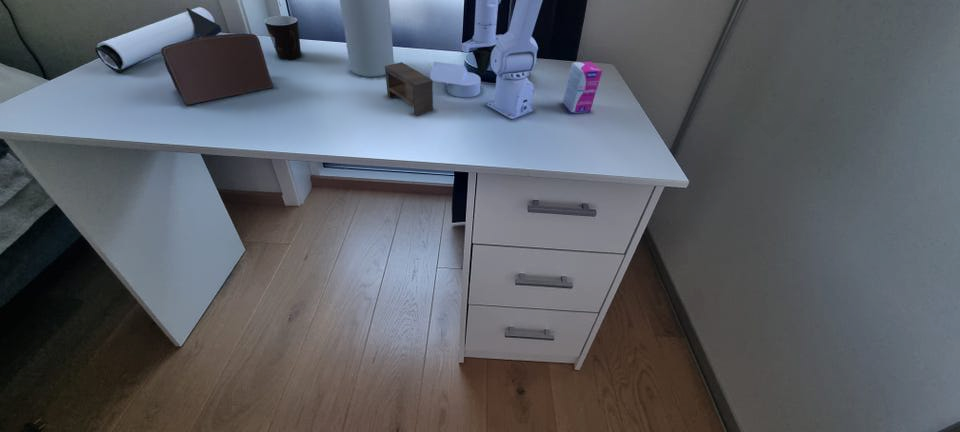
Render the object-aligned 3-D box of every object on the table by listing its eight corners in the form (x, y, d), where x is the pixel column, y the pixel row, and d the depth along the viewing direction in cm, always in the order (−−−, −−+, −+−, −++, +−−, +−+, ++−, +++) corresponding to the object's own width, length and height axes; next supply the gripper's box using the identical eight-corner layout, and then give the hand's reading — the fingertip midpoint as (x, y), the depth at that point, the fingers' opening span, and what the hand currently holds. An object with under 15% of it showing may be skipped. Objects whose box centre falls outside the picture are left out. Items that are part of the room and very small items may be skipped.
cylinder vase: (373, 81, 109) (361, -22, 92) (341, 69, 113) (323, -31, 97) (403, 68, 117) (397, -29, 100) (371, 57, 121) (360, -38, 105)
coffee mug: (275, 51, 120) (265, 16, 113) (305, 50, 122) (297, 15, 116) (272, 66, 112) (261, 29, 105) (304, 64, 114) (296, 28, 107)
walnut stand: (433, 110, 99) (432, 79, 93) (416, 116, 96) (415, 84, 91) (403, 91, 105) (401, 61, 100) (387, 96, 103) (384, 66, 97)
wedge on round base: (429, 92, 106) (476, 99, 105) (428, 67, 102) (477, 74, 100) (438, 79, 113) (482, 85, 112) (438, 55, 108) (484, 62, 107)
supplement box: (571, 114, 102) (581, 71, 95) (561, 104, 106) (571, 61, 99) (590, 113, 104) (603, 70, 96) (580, 102, 108) (591, 60, 100)
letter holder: (274, 88, 102) (257, 30, 93) (186, 106, 92) (157, 44, 82) (261, 74, 107) (244, 19, 98) (176, 90, 97) (148, 30, 88)
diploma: (122, 87, 104) (143, 61, 97) (86, 56, 99) (105, 26, 93) (213, 43, 130) (234, 21, 123) (188, 17, 125) (208, -8, 119)
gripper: (495, 14, 109) (491, 63, 118) (454, 22, 101) (453, 73, 111) (513, 21, 105) (507, 71, 115) (472, 29, 98) (469, 82, 107)
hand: (482, 73), depth 112 cm, fingers closed
